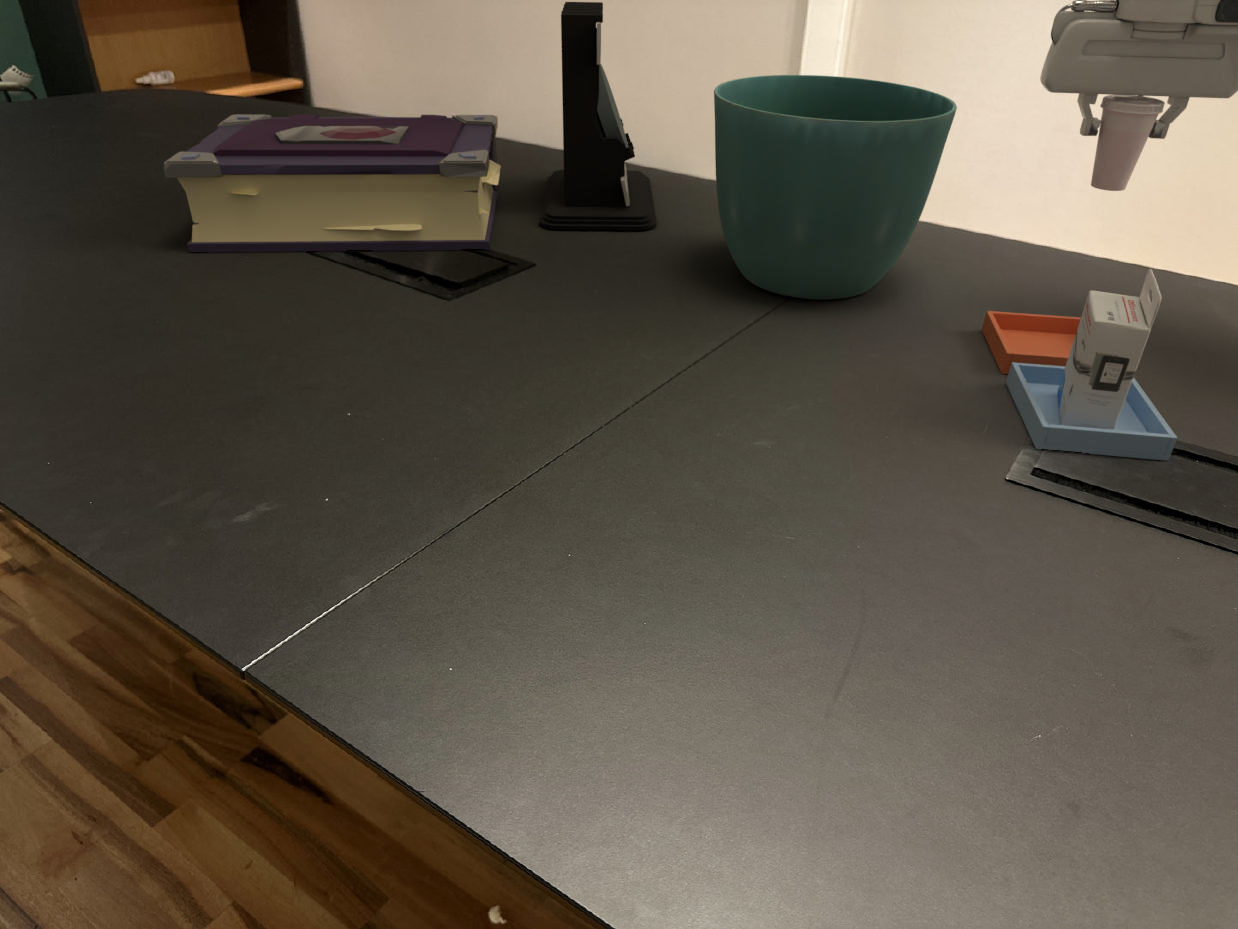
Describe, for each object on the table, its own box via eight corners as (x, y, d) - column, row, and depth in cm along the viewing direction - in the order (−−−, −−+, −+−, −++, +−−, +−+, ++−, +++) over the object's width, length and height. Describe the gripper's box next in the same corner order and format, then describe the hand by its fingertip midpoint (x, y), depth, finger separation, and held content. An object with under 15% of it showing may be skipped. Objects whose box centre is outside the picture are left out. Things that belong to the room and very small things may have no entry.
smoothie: (1141, 196, 103) (1184, 63, 95) (1080, 190, 104) (1117, 60, 97) (1134, 182, 108) (1173, 55, 100) (1076, 177, 109) (1111, 52, 102)
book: (248, 189, 158) (231, 105, 151) (505, 188, 161) (500, 105, 154) (184, 253, 130) (159, 154, 123) (496, 250, 133) (491, 153, 126)
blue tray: (1121, 392, 98) (1129, 371, 97) (1168, 461, 86) (1177, 437, 85) (1005, 383, 99) (1011, 362, 98) (1035, 449, 88) (1043, 426, 86)
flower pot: (908, 249, 136) (941, 79, 123) (930, 329, 112) (975, 126, 99) (711, 235, 141) (723, 69, 128) (690, 309, 116) (703, 112, 103)
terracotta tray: (1084, 337, 110) (1091, 318, 109) (1115, 383, 100) (1122, 361, 99) (981, 330, 112) (986, 310, 110) (1001, 374, 101) (1007, 353, 100)
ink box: (1055, 391, 97) (1097, 259, 89) (1105, 400, 95) (1152, 266, 87) (1059, 429, 90) (1104, 289, 82) (1113, 438, 88) (1164, 297, 80)
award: (657, 231, 142) (665, 21, 126) (538, 230, 141) (531, 19, 125) (649, 179, 168) (654, -2, 151) (548, 178, 167) (543, -3, 151)
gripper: (1066, 2, 94) (1033, 138, 102) (1277, 6, 92) (1227, 146, 99) (1051, -4, 100) (1021, 126, 107) (1250, 0, 97) (1205, 133, 104)
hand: (1121, 136), depth 103 cm, fingers closed on smoothie, 6 cm apart
